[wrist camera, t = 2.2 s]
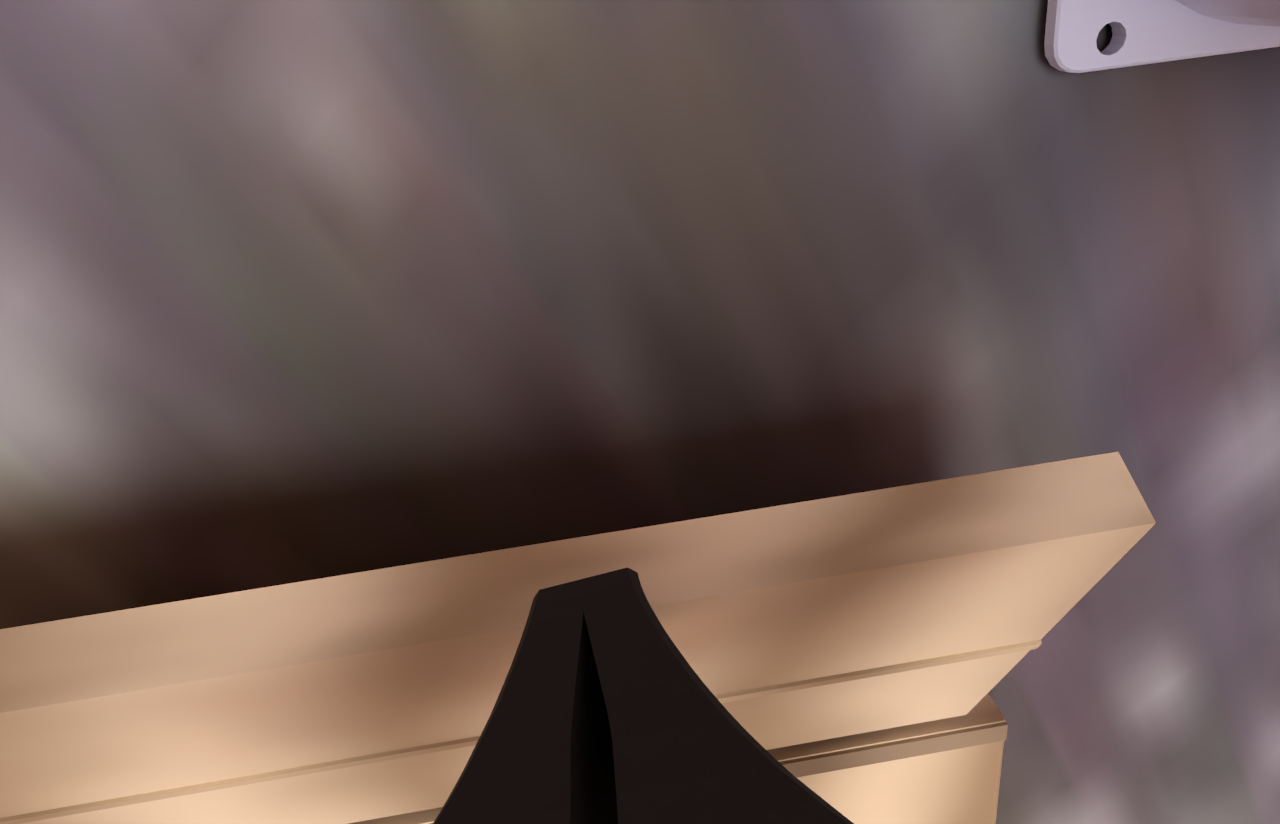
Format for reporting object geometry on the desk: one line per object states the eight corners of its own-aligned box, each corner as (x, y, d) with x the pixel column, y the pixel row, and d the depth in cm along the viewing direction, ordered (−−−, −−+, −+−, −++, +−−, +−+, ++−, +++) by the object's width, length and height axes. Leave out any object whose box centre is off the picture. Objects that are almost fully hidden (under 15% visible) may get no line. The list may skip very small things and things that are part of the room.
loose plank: (1118, 451, 13) (1158, 526, 13) (948, 664, 22) (967, 718, 21) (-445, 700, 12) (-496, 799, 11) (10, 826, 20) (-3, 888, 20)
